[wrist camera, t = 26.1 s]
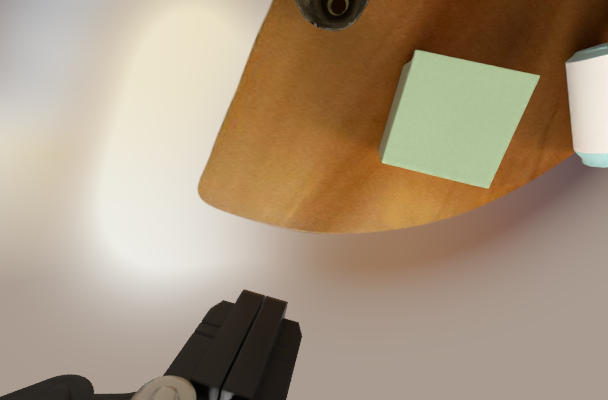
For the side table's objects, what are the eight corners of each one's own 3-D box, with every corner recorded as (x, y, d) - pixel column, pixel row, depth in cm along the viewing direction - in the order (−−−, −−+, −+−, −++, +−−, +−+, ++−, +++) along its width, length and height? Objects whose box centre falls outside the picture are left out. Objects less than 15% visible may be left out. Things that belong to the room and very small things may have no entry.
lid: (414, 49, 32) (416, 49, 31) (536, 75, 31) (540, 75, 30) (380, 160, 36) (381, 162, 35) (485, 186, 35) (488, 189, 34)
